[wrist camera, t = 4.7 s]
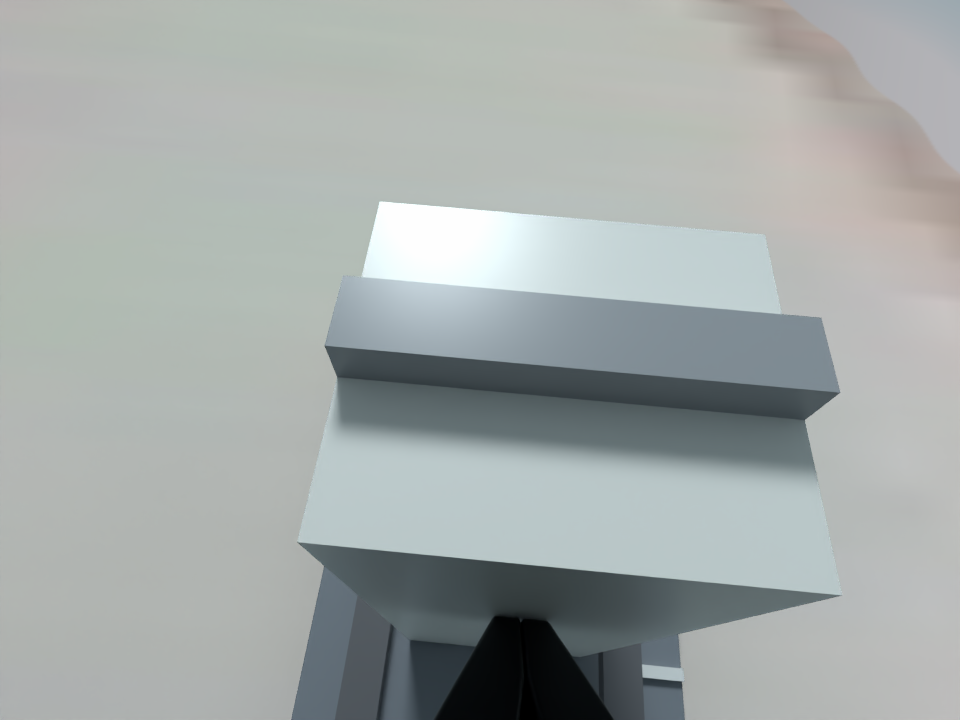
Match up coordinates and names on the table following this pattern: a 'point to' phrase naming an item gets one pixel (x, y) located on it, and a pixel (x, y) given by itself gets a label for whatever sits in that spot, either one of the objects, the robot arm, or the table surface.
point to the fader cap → (569, 430)
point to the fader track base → (449, 669)
